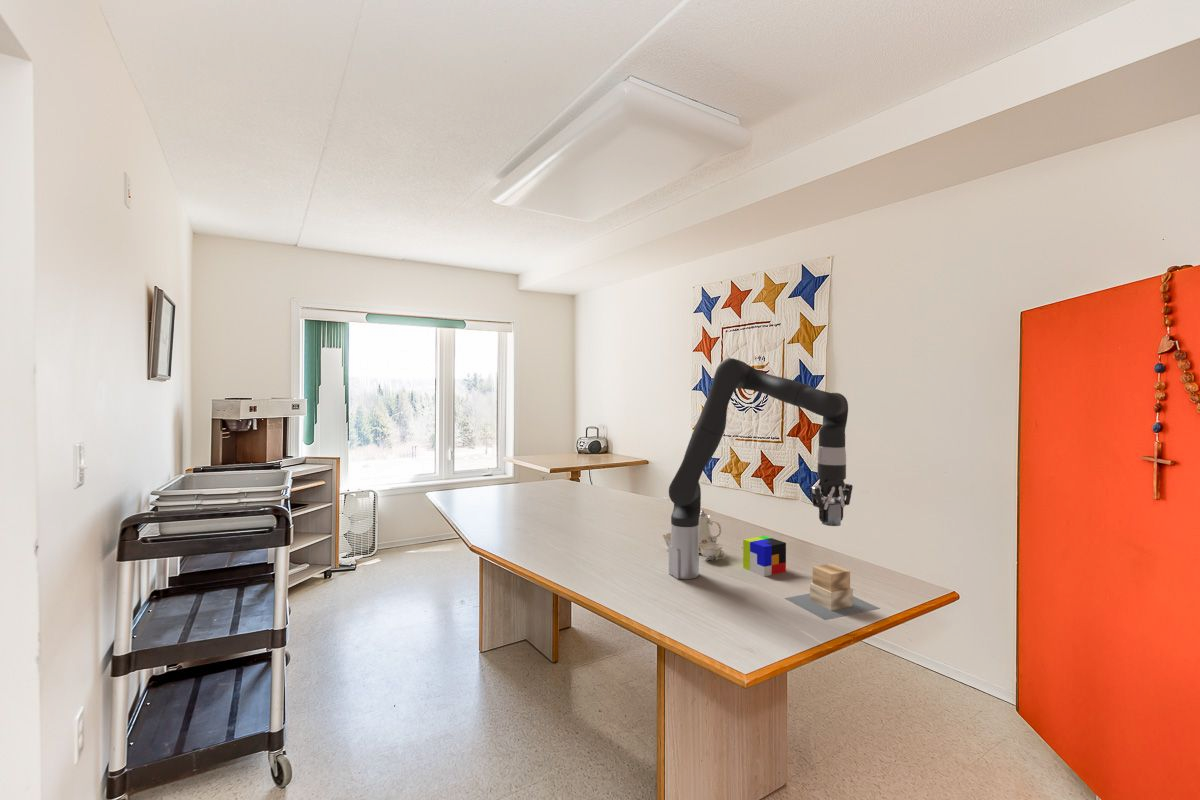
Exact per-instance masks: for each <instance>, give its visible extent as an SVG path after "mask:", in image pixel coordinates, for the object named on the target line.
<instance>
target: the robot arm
mask: <svg viewBox="0 0 1200 800" xmlns="http://www.w3.org/2000/svg"><path fill="white" fill-rule="evenodd" d="M711 382H712V383H711V386H710V390H709V392H708V396H707V398H706V399H705V403H704V405H703V407H702V410H701V413H700V415H699V417H698V419H697V422H696V424H695V426H694V429H693V432H692V433H691V436H690V439H689V441H688V445H687V447H686V451H685V454H684V455H683V459H682V462H681V464H680V466H679V468H678V469H677V471H676V473H675V475H674V477H673V478H672V480H671V483H670V484H669V486H668V496H669V499H670V501H671V502H672V503H673V510H672V513H671V517H670V533H671V545H669V547H668V574H669V573H670V575H671V576H672V575H673V576H672V577H674V578H675V579H677V580H678V579H683V580H691V579H696V578H699V575H700V574H699V573H700V568H699V567H700V565H699V564H700V560H699V559H700V554H699V517H700V511H701V504H702V503H701V502H702V501H701V499H702V498H701V497H702V496H701V495H702V493H701V492H702V491H701V490H702V489H701V485H700V482H699V481H700V479H701V476H702V474H703V472H704V469H705V468H706V466H707V465H708V463H709V462H710V461H711V459H712V457H713V456H714V454H715V453H716V451H717V449H718V446H719V445H720V443H721V441H722V438H723V435H724V433H725V430H726V426H727V416H728V408H729V407H728V406H729V403H730V401H731V399H732V396H733V394H734V392H735V391H736V389H737V390H738V389H740V390H746V391H747V390H748V391H754V392H758V393H761V394H764V395H767V396H769V397H771V398H774V399H776V400H778V401H781V402H783V403H785V404H788V405H792V406H795V407H798V408H802V409H805V410H806V411H809V412H810V413H812V414H813V413H814V414H816V415H818V416H822V425H821V426H820V428H819V430H818V449H817V478H818V479H819V482H818V484H817V485H815V486H810V487H809V490H810V494H811V500H812V505H813V507H815V508H818V518H819V521H820V522H821V523H822V522H824V523H825V522H827V521H828V510H827V508H828V504H829V502H832V500H833V502H838V503H841V522H842V521H843V519H844V508H845V506H849V505H850V502H851V497H852V491H853V488H854V487H853V486H854V485H852V484H850V483H845V481H844V480H846V478H847V451H846V427H847V421H848V415H849V402H848V399H847V397H846V396H845V395H843V394H842V393H839V392H828V391H824V390H820V389H817V388H814V387H813V386H811V385H809V384H806V383H804V382H801V381H796V380H794V379H789V378H785V377H782V376H777V375H772V374H768V373H766V372H763V371H761V370H758V369H756V368H754V367H753V366H751V365H749V364H747V363H746V362H744V361H742V360H740V359H737V358H736V359H735V358H731V357H730V358H729V357H728V358H725V359H723V360H722V361H720V363H719V364H718V366H716V369H715V372H714V376H713V380H712V381H711ZM823 502H824V505H823Z"/></svg>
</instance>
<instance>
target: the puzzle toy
mask: <svg viewBox="0 0 1200 800" xmlns="http://www.w3.org/2000/svg"><path fill="white" fill-rule="evenodd" d="M742 541H743V545H742V547H743V549H742V551H743V552H742V556H743V557H742V563H743V564H742V566H743V567H742V568H743V569H745V570H748V571H750V572H753V573H755V574H757V575H759V576H762V577H769V576H773V575H777V574H782V573H786V572H787V542H784V541H782V540H779V539H775V538H774V537H770V536H767V535H760V536H755V537H750V538H744V539H743V540H742Z"/></svg>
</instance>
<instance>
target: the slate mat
mask: <svg viewBox="0 0 1200 800" xmlns="http://www.w3.org/2000/svg"><path fill="white" fill-rule="evenodd" d="M784 599H785V600H787V601H789V602H790V603H792V604H794V605H795V606H798V607H800V608H802V609H803V610H805V611H807V612H809V613H811V614H813V615H815V616H817V617H818V618H821V619H822V620H825V621H828V620H832V619H837V618H841V617H848V616H851V615H855V614H861V613H865V612H870V611H876V610H880V609H881V607H878V606H876V605H873V604H871V603H869V602H867V601H865V600H863V599H861V598H858V597H855V596H854V595H853V606H851V607H846V608H842V609H837V610H832V611H831V610H829V609H827V608H825V607H823V606H821V605H819V604H817V603H815V602H813V601H811V600H810V593H806V594H800V595H793V596H789V597H784Z"/></svg>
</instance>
